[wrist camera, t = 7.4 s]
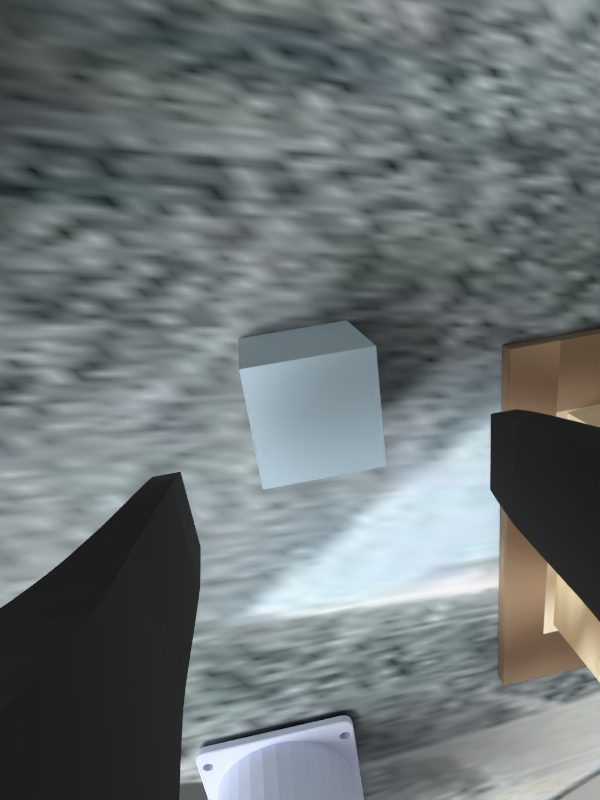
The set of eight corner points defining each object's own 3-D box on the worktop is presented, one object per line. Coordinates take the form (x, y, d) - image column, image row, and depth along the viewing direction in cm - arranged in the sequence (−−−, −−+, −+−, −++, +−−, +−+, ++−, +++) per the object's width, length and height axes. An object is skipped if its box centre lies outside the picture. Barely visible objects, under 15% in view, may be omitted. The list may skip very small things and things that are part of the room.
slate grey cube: (356, 418, 19) (386, 466, 15) (257, 436, 19) (262, 489, 15) (346, 319, 17) (375, 345, 14) (238, 337, 17) (239, 369, 13)
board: (656, 639, 26) (666, 648, 25) (497, 675, 25) (503, 685, 24) (715, 308, 19) (729, 310, 19) (502, 345, 18) (510, 349, 18)
